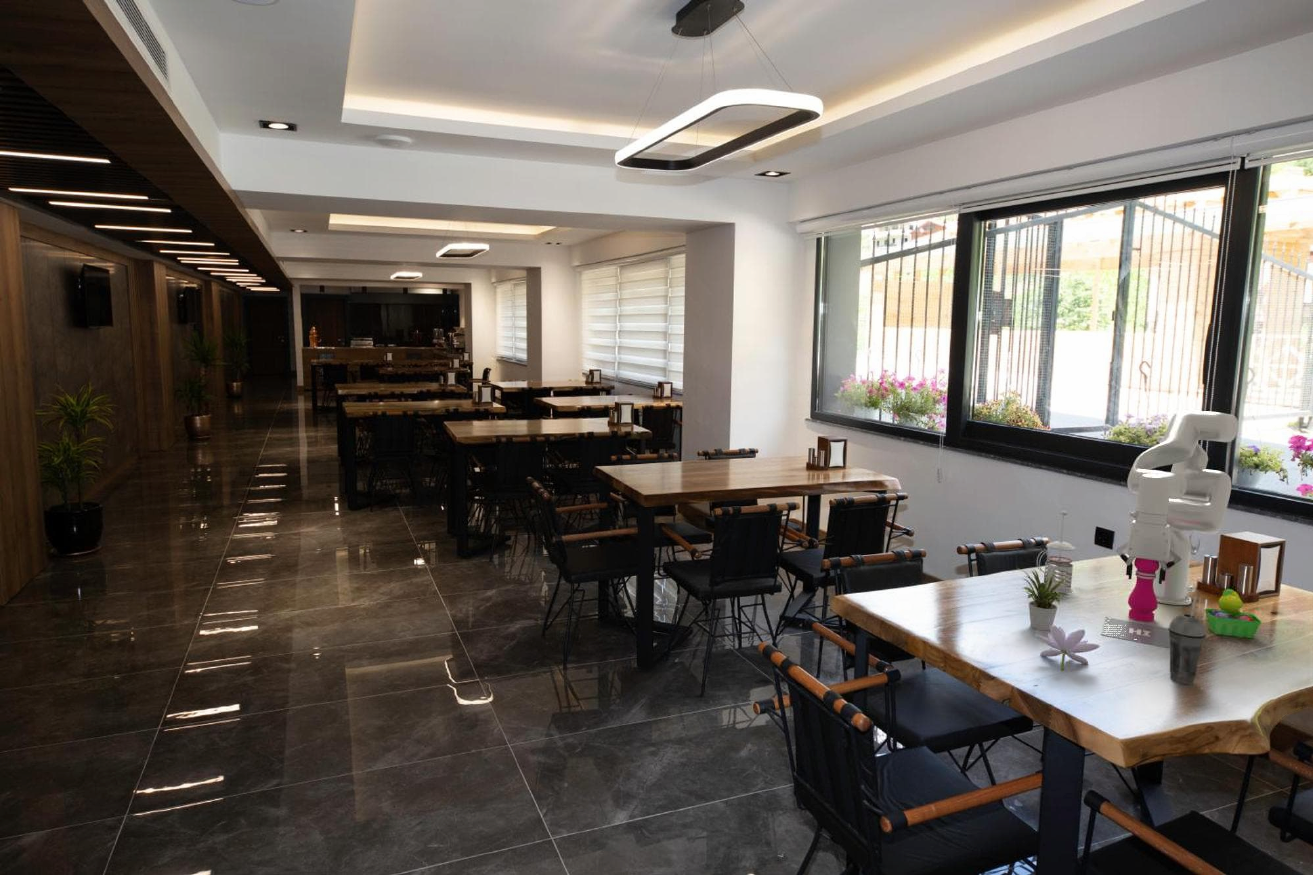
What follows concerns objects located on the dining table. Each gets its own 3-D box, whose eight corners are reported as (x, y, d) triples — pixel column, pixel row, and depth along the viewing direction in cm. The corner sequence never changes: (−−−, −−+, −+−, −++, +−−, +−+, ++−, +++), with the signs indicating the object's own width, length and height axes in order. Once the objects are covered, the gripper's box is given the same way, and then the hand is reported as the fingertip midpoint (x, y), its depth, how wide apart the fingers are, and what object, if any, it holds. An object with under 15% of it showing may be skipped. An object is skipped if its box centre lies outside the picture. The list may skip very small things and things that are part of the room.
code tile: (1101, 634, 214) (1101, 634, 214) (1105, 617, 229) (1105, 616, 229) (1177, 649, 205) (1177, 648, 205) (1176, 630, 220) (1177, 629, 220)
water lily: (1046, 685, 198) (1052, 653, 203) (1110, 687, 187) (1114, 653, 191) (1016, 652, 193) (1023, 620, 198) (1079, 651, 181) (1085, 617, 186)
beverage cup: (1155, 673, 189) (1164, 591, 187) (1184, 673, 190) (1194, 591, 188) (1178, 687, 182) (1187, 601, 180) (1208, 686, 183) (1218, 601, 180)
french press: (1080, 594, 250) (1087, 515, 247) (1042, 593, 250) (1049, 514, 247) (1065, 584, 259) (1071, 508, 256) (1028, 583, 259) (1035, 507, 256)
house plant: (999, 625, 220) (1004, 567, 218) (1017, 613, 230) (1022, 558, 228) (1055, 639, 210) (1060, 579, 208) (1071, 626, 220) (1076, 568, 218)
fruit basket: (1210, 634, 217) (1214, 594, 216) (1200, 624, 225) (1205, 584, 224) (1260, 641, 213) (1265, 599, 212) (1249, 630, 221) (1254, 590, 220)
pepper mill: (1148, 614, 232) (1155, 546, 230) (1161, 623, 225) (1168, 553, 222) (1121, 613, 233) (1128, 545, 230) (1134, 621, 226) (1141, 552, 223)
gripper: (1114, 516, 227) (1108, 578, 229) (1188, 525, 217) (1181, 589, 220) (1116, 512, 233) (1110, 572, 235) (1188, 520, 224) (1181, 583, 226)
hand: (1144, 580), depth 227 cm, fingers open, 6 cm apart
